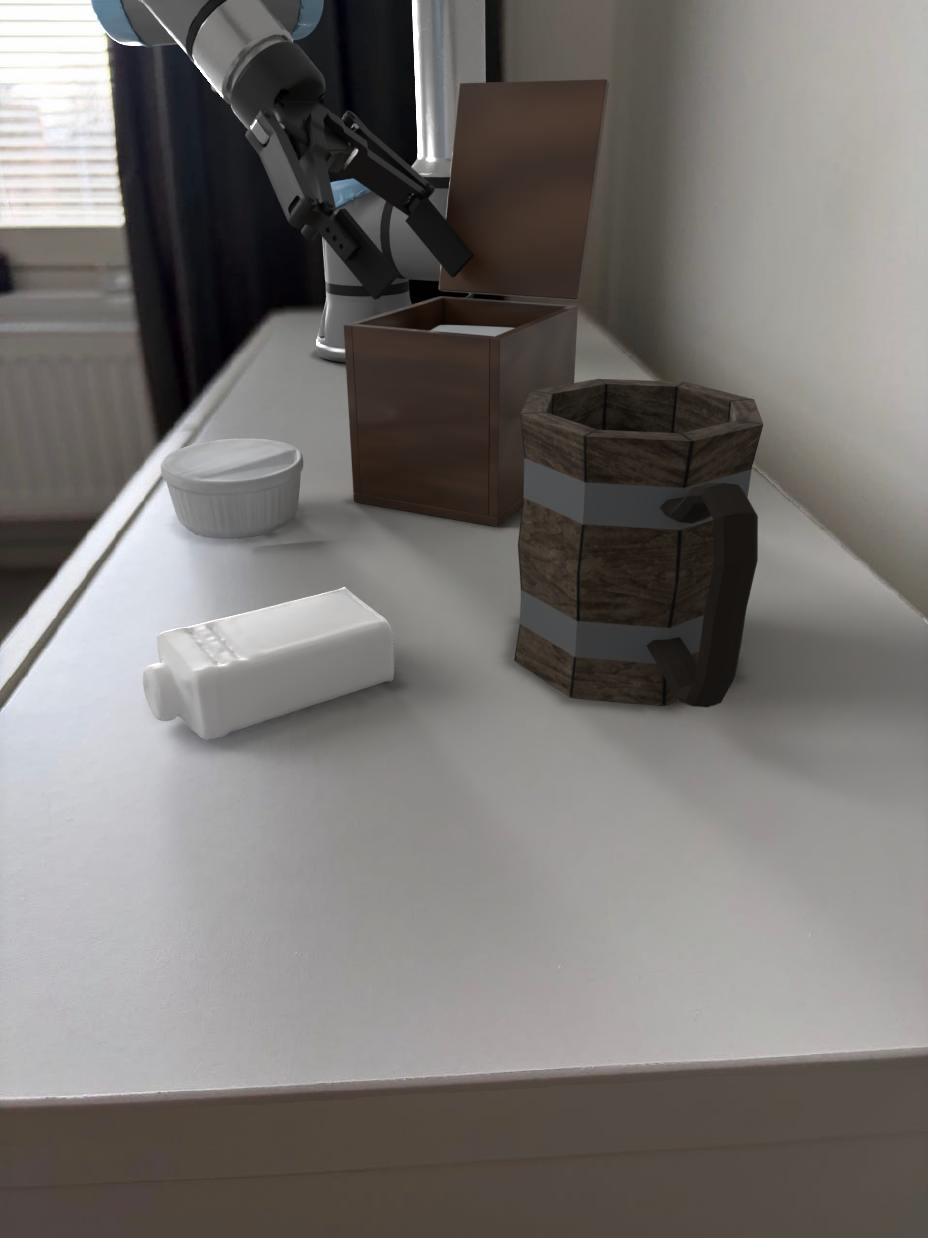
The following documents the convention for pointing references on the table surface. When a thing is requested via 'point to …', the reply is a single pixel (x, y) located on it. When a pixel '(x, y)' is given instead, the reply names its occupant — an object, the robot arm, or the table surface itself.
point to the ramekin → (234, 486)
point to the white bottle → (268, 662)
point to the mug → (636, 539)
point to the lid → (525, 185)
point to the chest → (450, 402)
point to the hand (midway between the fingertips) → (427, 276)
